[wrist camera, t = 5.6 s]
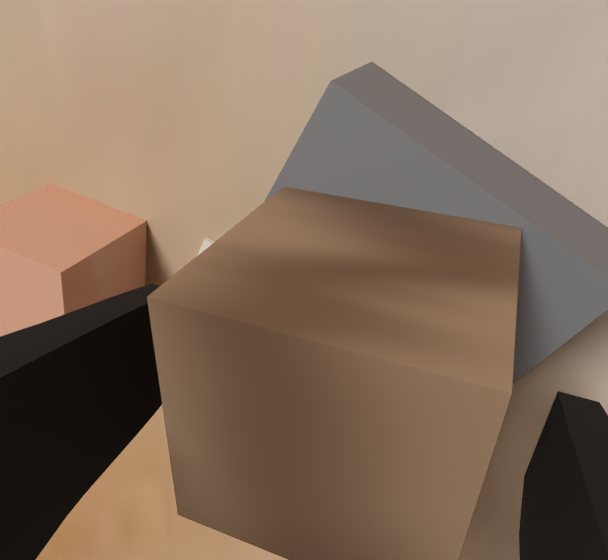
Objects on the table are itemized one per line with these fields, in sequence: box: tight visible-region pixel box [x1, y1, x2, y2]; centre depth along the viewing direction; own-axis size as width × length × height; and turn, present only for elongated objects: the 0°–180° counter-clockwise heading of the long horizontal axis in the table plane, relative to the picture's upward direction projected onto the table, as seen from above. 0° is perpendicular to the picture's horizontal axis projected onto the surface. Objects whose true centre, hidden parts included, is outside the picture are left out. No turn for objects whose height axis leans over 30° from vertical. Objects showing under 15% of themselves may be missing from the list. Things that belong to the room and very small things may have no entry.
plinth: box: [265, 62, 608, 383], centre depth 13 cm, size 7×7×4 cm
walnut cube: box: [147, 187, 521, 560], centre depth 10 cm, size 5×5×5 cm
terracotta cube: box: [0, 184, 147, 336], centre depth 18 cm, size 4×4×4 cm
